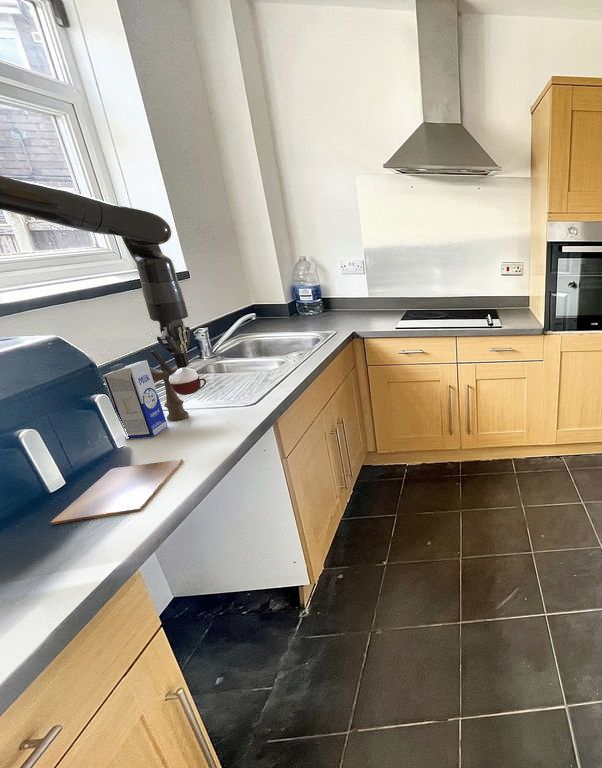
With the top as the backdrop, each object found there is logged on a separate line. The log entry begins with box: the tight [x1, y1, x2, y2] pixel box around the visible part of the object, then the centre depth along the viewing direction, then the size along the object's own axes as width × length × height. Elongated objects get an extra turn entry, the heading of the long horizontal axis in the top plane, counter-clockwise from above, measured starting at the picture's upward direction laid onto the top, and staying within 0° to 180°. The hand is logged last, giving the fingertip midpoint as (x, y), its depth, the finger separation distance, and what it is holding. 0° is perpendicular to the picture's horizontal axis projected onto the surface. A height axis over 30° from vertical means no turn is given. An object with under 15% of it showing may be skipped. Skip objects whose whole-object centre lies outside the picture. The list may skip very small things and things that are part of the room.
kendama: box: [149, 352, 189, 421], centre depth 120 cm, size 6×10×20 cm, turn 107°
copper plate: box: [50, 459, 184, 526], centre depth 89 cm, size 14×20×1 cm
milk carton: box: [102, 359, 169, 440], centre depth 111 cm, size 7×7×20 cm
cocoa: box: [149, 349, 207, 396], centre depth 108 cm, size 10×6×12 cm, turn 82°
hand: (183, 366), depth 108 cm, fingers closed
